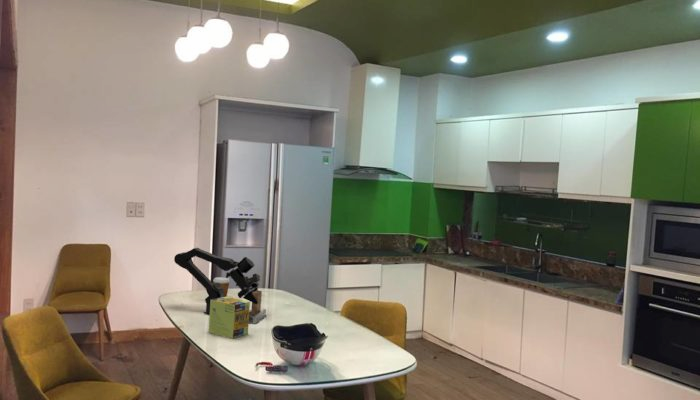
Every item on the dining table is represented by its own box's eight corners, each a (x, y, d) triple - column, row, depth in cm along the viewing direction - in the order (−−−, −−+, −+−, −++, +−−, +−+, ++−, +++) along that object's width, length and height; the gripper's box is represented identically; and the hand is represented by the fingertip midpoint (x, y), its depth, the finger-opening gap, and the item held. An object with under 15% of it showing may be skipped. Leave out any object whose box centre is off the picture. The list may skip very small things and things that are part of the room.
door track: (241, 322, 288) (241, 315, 288) (252, 314, 306) (252, 307, 306) (255, 324, 287) (256, 317, 287) (266, 316, 305) (266, 309, 305)
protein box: (233, 339, 260) (235, 304, 259) (208, 332, 268) (209, 299, 267) (248, 334, 269) (250, 301, 268) (224, 328, 277) (225, 296, 276)
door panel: (251, 315, 297) (252, 292, 296) (254, 313, 303) (256, 290, 302) (256, 316, 296) (258, 293, 296) (260, 313, 302) (261, 290, 302)
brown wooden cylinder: (226, 301, 333) (228, 280, 333) (210, 300, 333) (211, 279, 333) (230, 297, 342) (231, 277, 342) (214, 296, 343) (215, 276, 342)
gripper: (245, 271, 290) (265, 295, 289) (256, 266, 308) (275, 289, 307) (229, 286, 291) (249, 310, 290) (241, 279, 310) (260, 302, 309)
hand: (259, 302), depth 299 cm, fingers closed on door panel, 6 cm apart
